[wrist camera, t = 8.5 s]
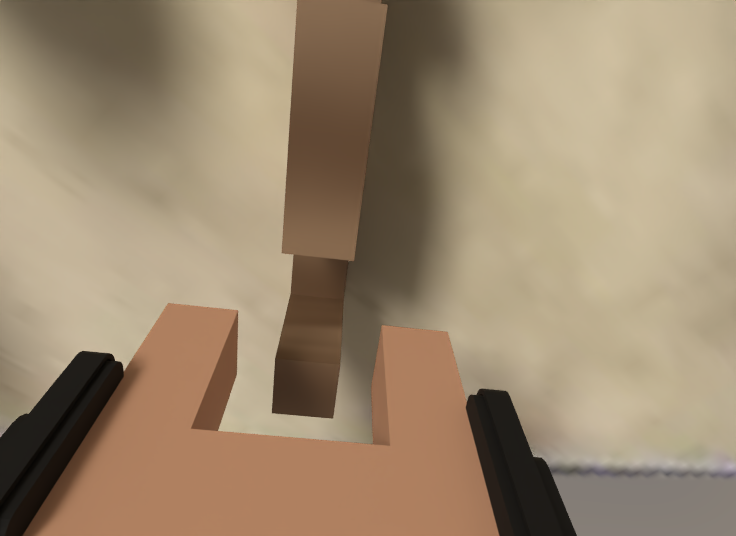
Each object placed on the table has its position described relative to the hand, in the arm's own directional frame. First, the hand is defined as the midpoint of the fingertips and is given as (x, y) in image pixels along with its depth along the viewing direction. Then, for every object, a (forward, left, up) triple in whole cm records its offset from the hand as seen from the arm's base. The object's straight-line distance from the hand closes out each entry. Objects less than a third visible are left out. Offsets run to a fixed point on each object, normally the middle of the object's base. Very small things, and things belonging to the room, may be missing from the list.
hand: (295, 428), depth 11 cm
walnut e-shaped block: (-5, 0, -13) cm, 14 cm away
